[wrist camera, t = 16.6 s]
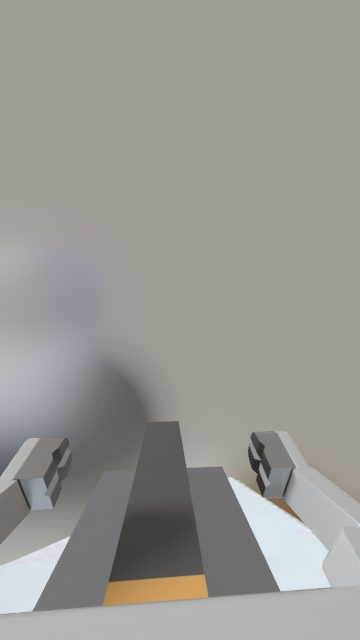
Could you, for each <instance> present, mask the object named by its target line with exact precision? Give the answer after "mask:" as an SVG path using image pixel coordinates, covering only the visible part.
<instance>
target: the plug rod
mask: <svg viewBox="0 0 360 640" xmlns="http://www.w3.org/2000/svg"><path fill="white" fill-rule="evenodd" d="M206 597H208V592H207V586H206V580H205V574H204V568H203V562H202V557H201V551H200V545H199V539H198V533H197V527H196V521H195V516H194V510H193V504H192V498H191V492H190V486H189V480H188V475H187V469H186V463H185V457H184V452H183V446H182V440H181V434H180V428H179V422H178V421H175V422H148V424H147V428H146V432H145V436H144V440H143V444H142V449H141V452H140V456H139V461H138V464H137V468H136V472H135V476H134V480H133V485H132V489H131V493H130V497H129V501H128V505H127V509H126V513H125V517H124V521H123V525H122V529H121V533H120V537H119V541H118V545H117V550H116V554H115V558H114V562H113V566H112V570H111V574H110V578H109V582H108V586H107V590H106V594H105V598H104V602H103V606H107V605H120V604H132V603H144V602H157V601H169V600H182V599H194V598H206Z"/></svg>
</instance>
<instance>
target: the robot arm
mask: <svg viewBox="0 0 360 640" xmlns="http://www.w3.org/2000/svg"><path fill="white" fill-rule="evenodd" d="M251 440H252V443H251V444H250V445H249V449H248V455H249V460H250V464H251V467H252V469H253V470H254V471H255V472H256V473H257V474H258V475H257V479H256V481H257V483H258V486H259V488H260V491H261V494H262V497H263V498H271V497H272V498H274V497H283V499H284V500H285V501H286V503H287V504H288V505H289V506H290V507H291V508H292V509H293V511H294V512H295V513H296V514H297V515H298V516H299V517H300V518H301V520H302V521H303V522H304V523H305V524H306V525H307V526H308V528H309V529H310V530H311V531H312V532H313V533H314V534H315V535H316V537H317V538H318V539H319V540H320V541H321V542H322V543H323V545H324V546H325V547H326V548H327V549H328V550H329V552H328V554H327V556H326V558H325V559H324V561H323V564H322V568H323V570H324V572H325V575H326V577H327V579H328V581H329V583H330V585H331V587H330V588H318V589H305V590H293V591H281V592H268V593H256V594H244V595H231V596H219V597H206V598H194V599H182V600H169V601H157V602H144V603H132V604H120V605H107V606H95V607H83V608H70V609H58V610H45V611H33V612H21V613H8V614H0V640H360V504H359V503H358V502H356V501H355V500H354V499H353V498H351V497H350V496H349V495H347V494H346V493H345V492H344V491H342V490H341V489H340V488H338V487H337V486H336V485H335V484H333V483H332V482H331V481H329V480H328V479H327V478H326V477H324V476H323V475H322V474H321V473H319V472H318V471H317V470H315V469H314V468H310V467H309V466H308V464H307V463H306V461H305V459H304V458H303V456H302V455H301V453H300V452H299V450H298V448H297V447H296V445H295V443H294V442H293V440H292V439H291V437H290V435H289V434H288V433H287V432H286V431H275V432H274V431H268V432H253V433H252V434H251ZM68 445H69V441H68V438H33V439H31V438H30V439H28V440H27V441H26V442H25V443H24V444H23V445H22V447H21V448H20V450H19V451H18V453H17V454H16V455H15V457H14V458H13V460H12V461H11V463H10V464H9V465H8V467H7V468H6V470H5V471H4V473H3V474H2V475H1V477H0V544H1V543H2V542H3V541H4V540H5V539H6V537H7V536H8V535H9V534H10V533H11V532H12V531H13V530H14V529H15V528H16V527H17V525H18V524H19V523H20V522H21V521H22V520H23V519H24V518H25V517H26V516H27V515H28V513H29V512H30V510H38V509H50V508H54V506H55V503H56V501H57V498H58V496H59V494H60V492H61V489H62V487H61V483H60V482H61V481H62V480H64V478H66V476H67V475H68V472H69V469H70V466H71V462H72V453H71V451H70V450H69V449H68V448H67V447H68Z"/></svg>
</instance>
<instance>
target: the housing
mask: <svg viewBox="0 0 360 640" xmlns="http://www.w3.org/2000/svg"><path fill="white" fill-rule="evenodd" d="M186 469H187V475H188V480H189V486H190V492H191V498H192V504H193V510H194V516H195V521H196V527H197V533H198V539H199V545H200V551H201V557H202V562H203V568H204V574H205V580H206V586H207V592H208V597H219V596H231V595H244V594H256V593H268V592H280V589H279V587H278V585H277V583H276V581H275V579H274V577H273V575H272V572H271V570H270V568H269V566H268V564H267V562H266V560H265V557H264V555H263V553H262V551H261V549H260V547H259V545H258V542H257V540H256V538H255V536H254V534H253V532H252V530H251V528H250V525H249V523H248V521H247V519H246V517H245V515H244V513H243V510H242V508H241V506H240V504H239V502H238V500H237V498H236V496H235V493H234V491H233V489H232V487H231V485H230V483H229V481H228V478H227V476H226V474H225V472H224V470H223V468H222V467H202V468H186ZM135 472H136V470H132V471H109V472H108V471H107V472H103V474H102V476H101V479H100V480H99V482H98V484H97V486H96V488H95V490H94V492H93V494H92V496H91V498H90V500H89V502H88V504H87V506H86V508H85V510H84V512H83V514H82V515H81V517H80V520H79V521H78V523H77V525H76V527H75V529H74V531H73V533H72V535H71V537H70V539H69V541H68V543H67V545H66V547H65V549H64V551H63V553H62V555H61V557H60V559H59V561H58V563H57V564H56V566H55V568H54V570H53V572H52V574H51V576H50V578H49V580H48V582H47V584H46V586H45V588H44V590H43V592H42V594H41V596H40V598H39V600H38V602H37V604H36V606H35V608H34V610H33V611H45V610H58V609H70V608H83V607H95V606H103V602H104V598H105V594H106V590H107V586H108V582H109V578H110V574H111V570H112V566H113V562H114V558H115V554H116V550H117V545H118V541H119V537H120V533H121V529H122V525H123V521H124V517H125V513H126V509H127V505H128V501H129V497H130V493H131V489H132V485H133V480H134V476H135ZM33 611H32V612H33Z"/></svg>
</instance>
